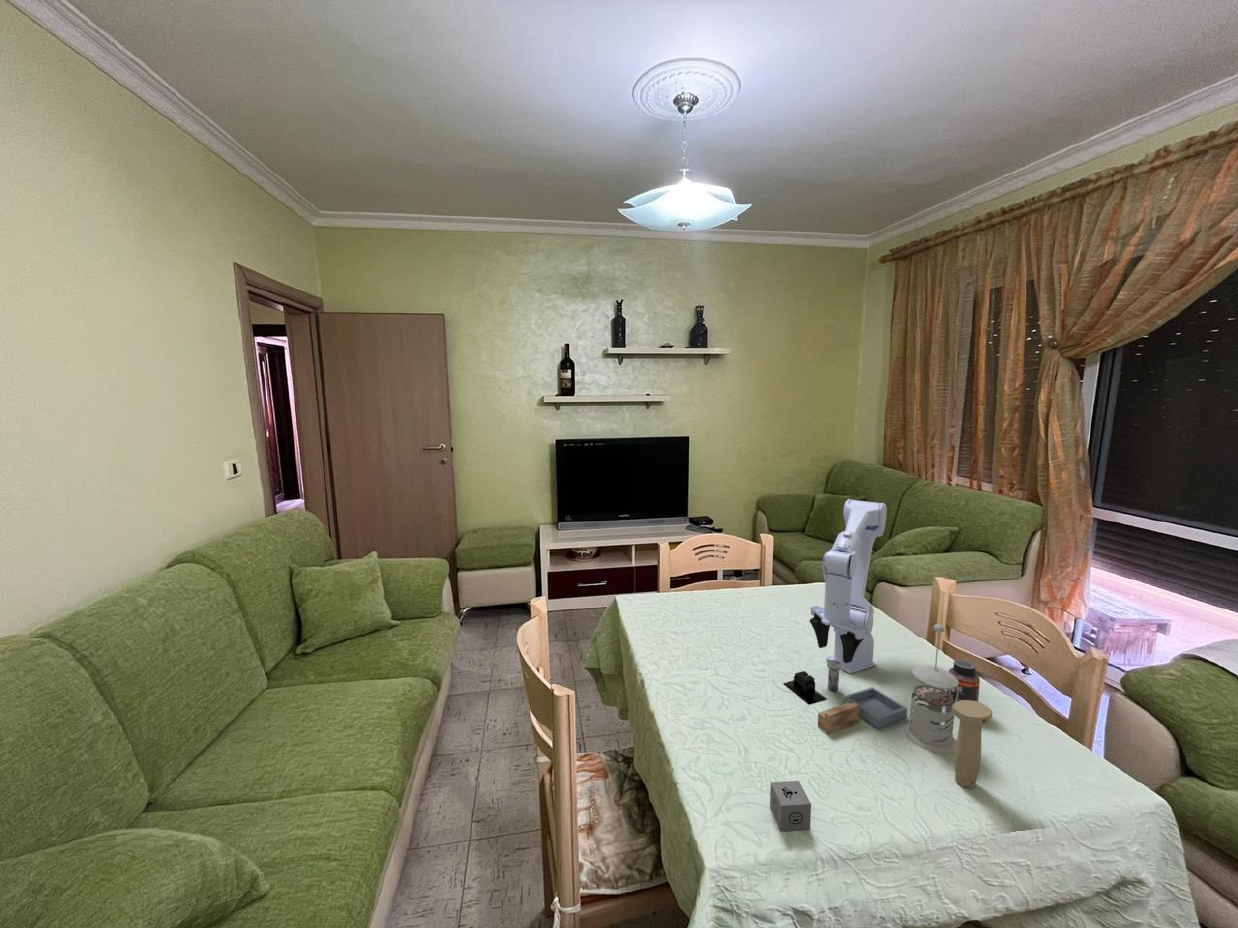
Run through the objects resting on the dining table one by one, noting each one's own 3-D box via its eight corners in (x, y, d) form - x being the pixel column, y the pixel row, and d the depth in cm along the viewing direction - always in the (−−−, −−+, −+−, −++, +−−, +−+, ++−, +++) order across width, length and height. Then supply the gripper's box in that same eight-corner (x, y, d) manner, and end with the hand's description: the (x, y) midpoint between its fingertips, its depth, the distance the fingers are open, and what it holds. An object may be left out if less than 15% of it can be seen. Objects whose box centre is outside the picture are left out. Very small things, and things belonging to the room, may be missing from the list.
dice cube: (769, 807, 88) (770, 782, 87) (797, 806, 88) (798, 780, 88) (780, 832, 83) (781, 805, 82) (809, 830, 83) (811, 803, 83)
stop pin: (832, 684, 124) (834, 658, 123) (843, 691, 121) (844, 665, 120) (822, 687, 123) (824, 661, 122) (833, 694, 120) (834, 668, 119)
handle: (939, 776, 94) (946, 703, 92) (967, 770, 96) (974, 697, 94) (962, 796, 90) (969, 719, 88) (991, 789, 91) (999, 713, 89)
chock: (847, 714, 113) (848, 697, 112) (859, 722, 110) (860, 704, 109) (817, 725, 109) (818, 707, 109) (828, 733, 106) (829, 715, 106)
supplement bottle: (972, 704, 116) (976, 658, 114) (981, 720, 110) (985, 672, 108) (942, 699, 118) (946, 654, 116) (949, 715, 112) (953, 668, 110)
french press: (892, 728, 108) (900, 619, 104) (929, 714, 112) (937, 609, 109) (937, 759, 99) (947, 640, 95) (974, 742, 103) (985, 628, 100)
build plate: (834, 704, 117) (835, 686, 117) (810, 712, 115) (810, 693, 114) (797, 676, 129) (798, 659, 128) (774, 683, 126) (775, 665, 125)
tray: (871, 696, 119) (872, 686, 119) (906, 718, 111) (907, 708, 111) (843, 706, 116) (844, 696, 115) (877, 730, 107) (878, 719, 107)
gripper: (802, 592, 124) (800, 643, 126) (850, 615, 111) (847, 672, 113) (823, 587, 127) (821, 638, 129) (873, 609, 114) (869, 665, 116)
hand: (834, 653), depth 121 cm, fingers open, 7 cm apart
